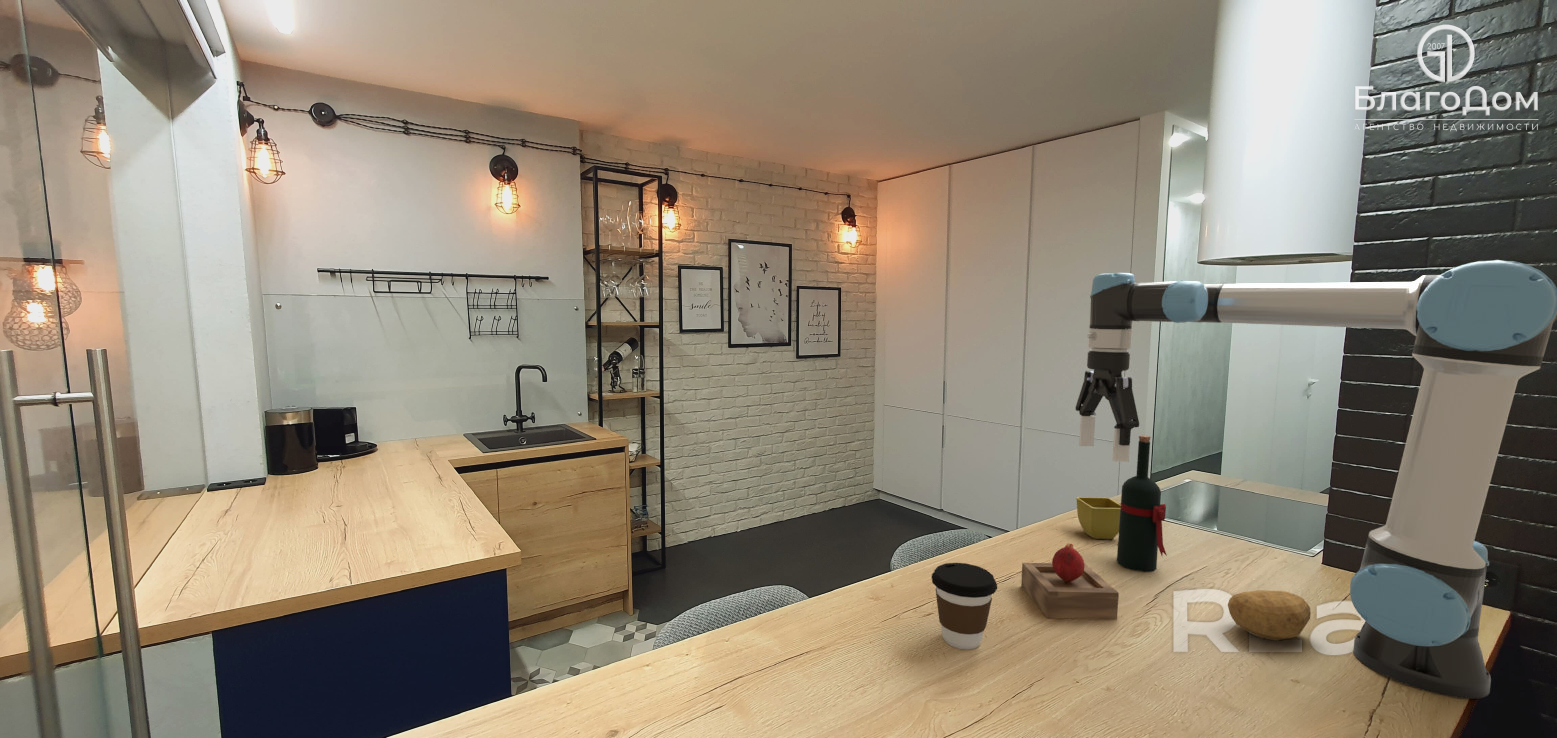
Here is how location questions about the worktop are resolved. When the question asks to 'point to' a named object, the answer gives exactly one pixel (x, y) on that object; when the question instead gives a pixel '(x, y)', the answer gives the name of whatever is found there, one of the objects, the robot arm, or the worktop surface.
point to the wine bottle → (1141, 517)
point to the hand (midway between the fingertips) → (1102, 453)
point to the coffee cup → (963, 602)
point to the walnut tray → (1069, 593)
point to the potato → (1270, 613)
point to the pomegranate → (1068, 563)
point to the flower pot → (1099, 516)
